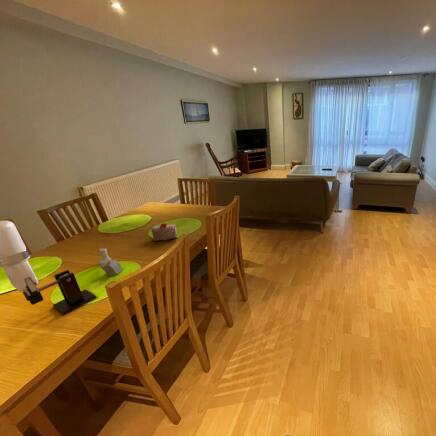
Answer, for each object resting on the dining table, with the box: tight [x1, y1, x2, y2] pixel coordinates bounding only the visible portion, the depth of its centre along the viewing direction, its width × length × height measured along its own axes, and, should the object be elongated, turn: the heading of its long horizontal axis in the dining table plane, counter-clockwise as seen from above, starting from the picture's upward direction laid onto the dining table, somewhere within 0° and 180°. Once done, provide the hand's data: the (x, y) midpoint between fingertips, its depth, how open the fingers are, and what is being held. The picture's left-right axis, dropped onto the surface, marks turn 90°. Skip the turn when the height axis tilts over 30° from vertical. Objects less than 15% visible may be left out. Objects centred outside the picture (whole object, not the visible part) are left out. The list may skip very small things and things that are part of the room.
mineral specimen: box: [98, 259, 123, 277], centre depth 115 cm, size 7×9×8 cm
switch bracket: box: [52, 269, 97, 316], centre depth 95 cm, size 11×9×14 cm
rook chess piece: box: [98, 247, 112, 261], centre depth 124 cm, size 4×4×8 cm
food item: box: [151, 222, 178, 242], centre depth 150 cm, size 14×8×10 cm, turn 108°
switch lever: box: [23, 273, 68, 299], centre depth 89 cm, size 13×3×3 cm, turn 151°
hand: (35, 299), depth 87 cm, fingers closed on switch lever, 3 cm apart
